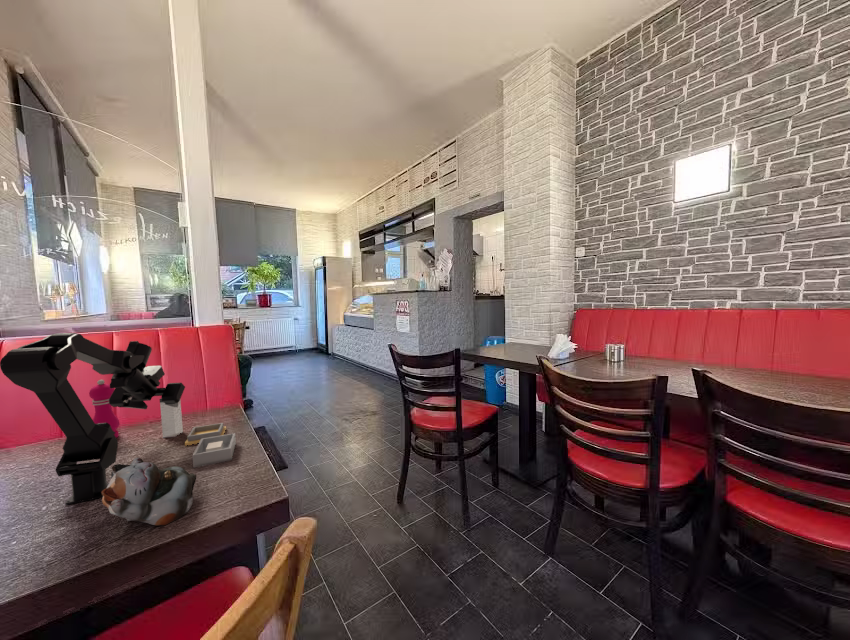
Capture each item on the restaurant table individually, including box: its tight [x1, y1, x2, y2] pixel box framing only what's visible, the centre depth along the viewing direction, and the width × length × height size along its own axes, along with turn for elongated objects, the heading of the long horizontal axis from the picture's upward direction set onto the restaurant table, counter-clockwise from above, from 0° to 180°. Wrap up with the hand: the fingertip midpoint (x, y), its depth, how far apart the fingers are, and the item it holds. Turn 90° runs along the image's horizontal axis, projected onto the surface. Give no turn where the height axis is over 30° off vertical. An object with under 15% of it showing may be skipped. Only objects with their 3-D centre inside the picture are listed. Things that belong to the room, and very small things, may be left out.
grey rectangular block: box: [159, 397, 184, 438], centre depth 114 cm, size 4×4×13 cm
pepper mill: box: [88, 379, 121, 438], centre depth 112 cm, size 7×7×20 cm
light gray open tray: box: [192, 432, 237, 468], centre depth 98 cm, size 12×9×4 cm
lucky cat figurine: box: [101, 457, 197, 527], centre depth 70 cm, size 15×12×14 cm
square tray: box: [184, 422, 227, 447], centre depth 111 cm, size 10×10×3 cm
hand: (162, 406), depth 109 cm, fingers open, 9 cm apart
